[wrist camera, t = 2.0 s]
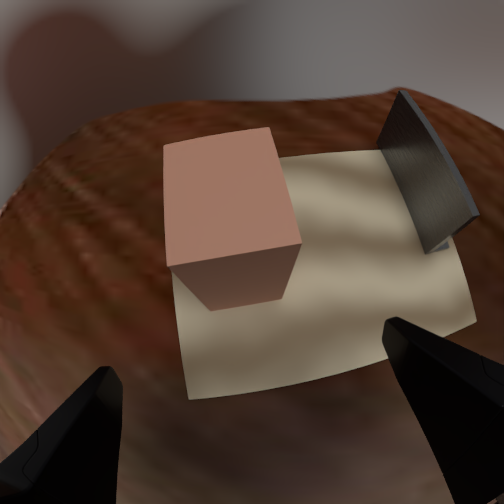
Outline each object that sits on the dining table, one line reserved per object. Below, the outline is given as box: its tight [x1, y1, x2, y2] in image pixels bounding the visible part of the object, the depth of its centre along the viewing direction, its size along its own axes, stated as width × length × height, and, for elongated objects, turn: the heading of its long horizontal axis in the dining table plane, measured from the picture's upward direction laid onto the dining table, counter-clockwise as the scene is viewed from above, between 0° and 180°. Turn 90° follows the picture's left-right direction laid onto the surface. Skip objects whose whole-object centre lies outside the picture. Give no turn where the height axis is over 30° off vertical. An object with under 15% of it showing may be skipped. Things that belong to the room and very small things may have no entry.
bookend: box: [376, 90, 480, 254], centre depth 20 cm, size 12×3×7 cm, turn 10°
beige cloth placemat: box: [172, 150, 477, 400], centre depth 21 cm, size 18×24×1 cm
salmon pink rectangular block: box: [164, 127, 302, 311], centre depth 16 cm, size 6×5×10 cm
